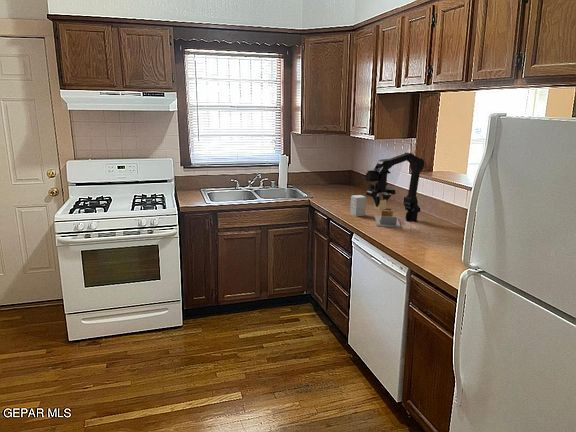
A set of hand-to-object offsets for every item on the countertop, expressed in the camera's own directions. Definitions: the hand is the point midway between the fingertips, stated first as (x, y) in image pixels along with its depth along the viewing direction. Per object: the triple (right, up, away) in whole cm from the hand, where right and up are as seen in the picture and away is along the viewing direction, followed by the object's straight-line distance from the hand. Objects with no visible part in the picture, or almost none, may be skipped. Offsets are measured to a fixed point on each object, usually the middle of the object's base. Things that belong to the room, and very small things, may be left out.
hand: (380, 206), depth 269 cm
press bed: (+5, -10, +6) cm, 13 cm away
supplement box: (-10, -5, +22) cm, 25 cm away
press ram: (+6, -6, +12) cm, 15 cm away
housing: (0, -1, 0) cm, 2 cm away
